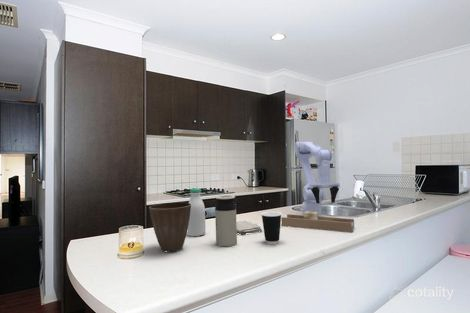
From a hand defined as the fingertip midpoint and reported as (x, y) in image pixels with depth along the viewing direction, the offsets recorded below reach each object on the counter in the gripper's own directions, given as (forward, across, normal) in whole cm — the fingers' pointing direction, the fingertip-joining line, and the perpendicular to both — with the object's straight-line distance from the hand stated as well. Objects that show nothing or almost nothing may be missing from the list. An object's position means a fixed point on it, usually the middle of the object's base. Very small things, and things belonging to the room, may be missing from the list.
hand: (325, 202), depth 133 cm
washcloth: (+11, -41, -1) cm, 42 cm away
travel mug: (+11, -50, -22) cm, 55 cm away
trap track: (+10, -6, -4) cm, 13 cm away
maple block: (+8, -8, -2) cm, 12 cm away
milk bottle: (+11, -62, -6) cm, 63 cm away
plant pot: (+11, -70, -24) cm, 75 cm away
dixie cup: (+11, -32, -23) cm, 41 cm away
